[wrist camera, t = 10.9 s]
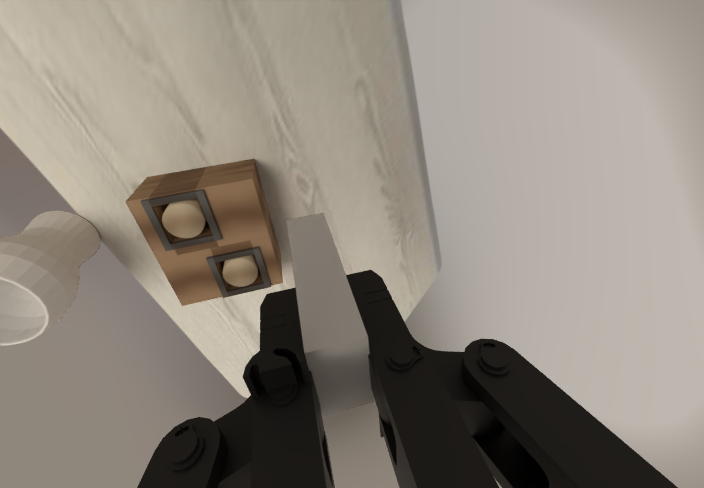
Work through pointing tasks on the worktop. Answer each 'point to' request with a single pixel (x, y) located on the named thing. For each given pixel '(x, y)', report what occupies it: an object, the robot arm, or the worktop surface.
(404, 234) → the worktop surface
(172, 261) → the walnut block
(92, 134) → the worktop surface
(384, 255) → the worktop surface
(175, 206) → the dowel
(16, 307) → the cup
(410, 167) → the worktop surface
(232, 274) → the dowel
